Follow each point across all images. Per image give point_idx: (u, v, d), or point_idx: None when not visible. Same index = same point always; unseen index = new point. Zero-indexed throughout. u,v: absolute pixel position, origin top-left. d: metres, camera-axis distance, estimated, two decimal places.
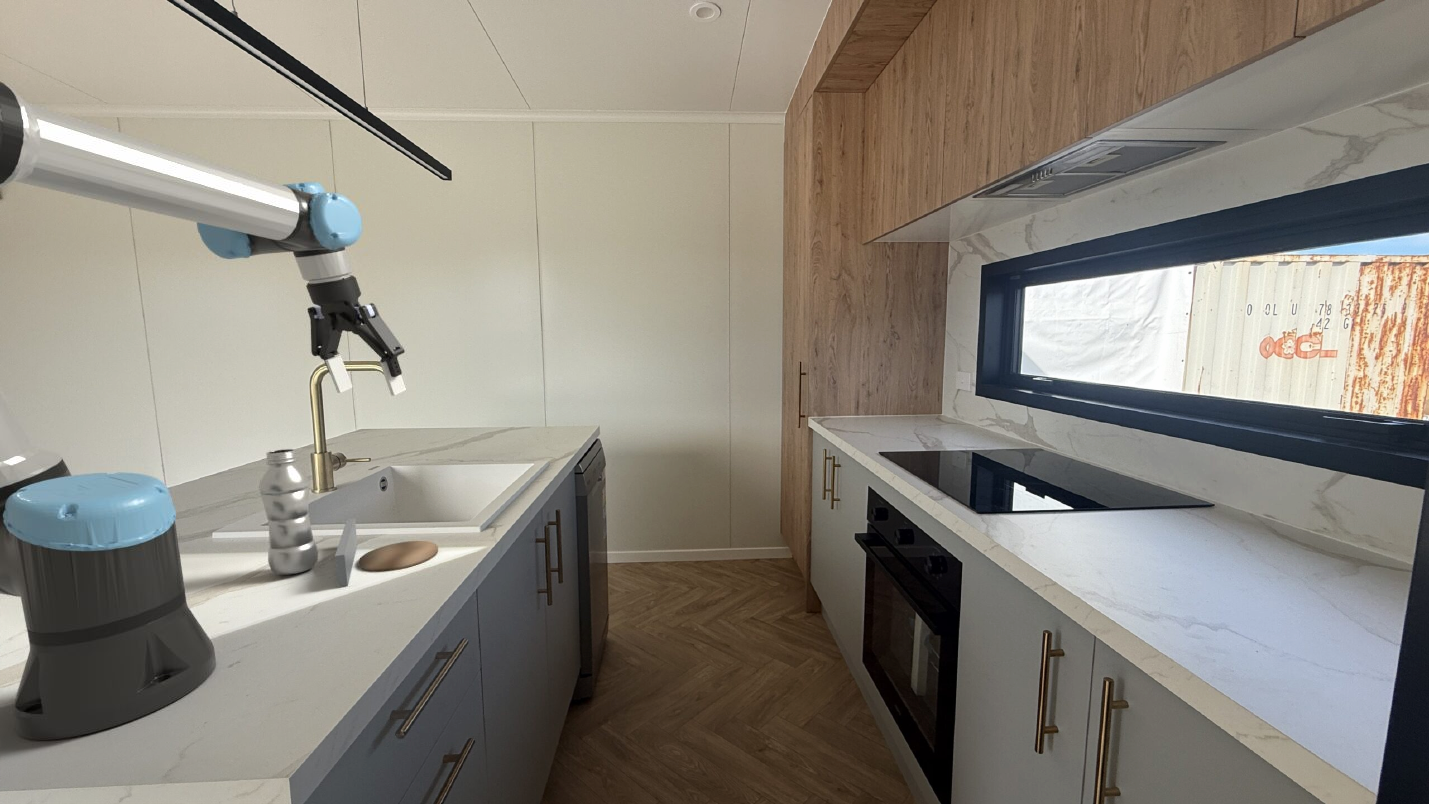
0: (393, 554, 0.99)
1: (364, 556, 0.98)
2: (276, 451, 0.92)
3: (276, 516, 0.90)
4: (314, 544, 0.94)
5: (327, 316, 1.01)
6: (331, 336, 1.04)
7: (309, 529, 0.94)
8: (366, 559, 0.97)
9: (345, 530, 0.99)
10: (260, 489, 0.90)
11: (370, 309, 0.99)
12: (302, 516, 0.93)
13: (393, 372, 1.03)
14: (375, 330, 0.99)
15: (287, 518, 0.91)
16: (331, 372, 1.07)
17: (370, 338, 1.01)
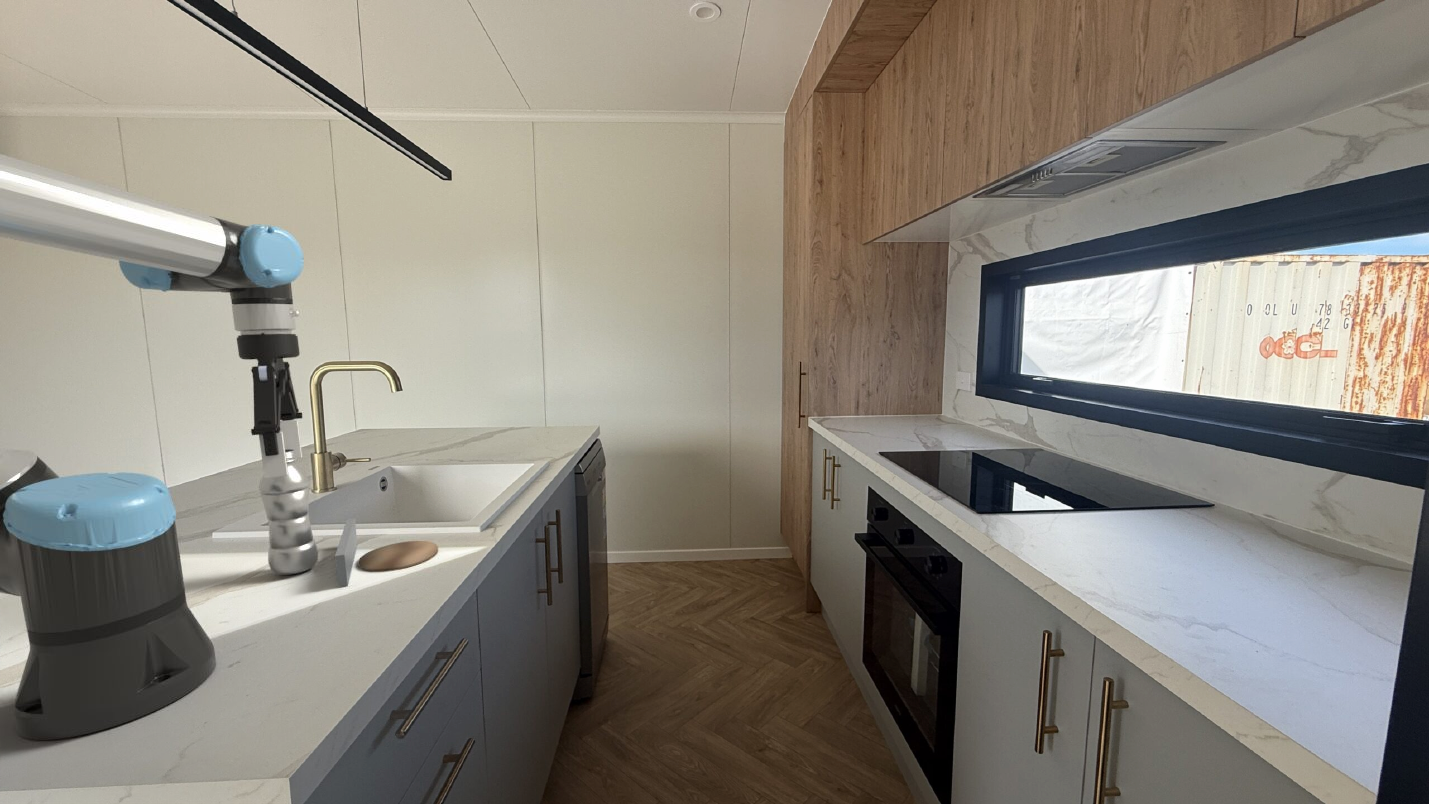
0: (393, 554, 0.99)
1: (364, 556, 0.98)
2: None
3: (276, 516, 0.90)
4: (314, 544, 0.94)
5: None
6: None
7: (309, 529, 0.94)
8: (366, 559, 0.97)
9: (345, 530, 0.99)
10: (260, 489, 0.90)
11: (262, 371, 0.84)
12: (302, 516, 0.93)
13: (265, 450, 0.84)
14: (254, 396, 0.83)
15: (287, 518, 0.91)
16: None
17: None
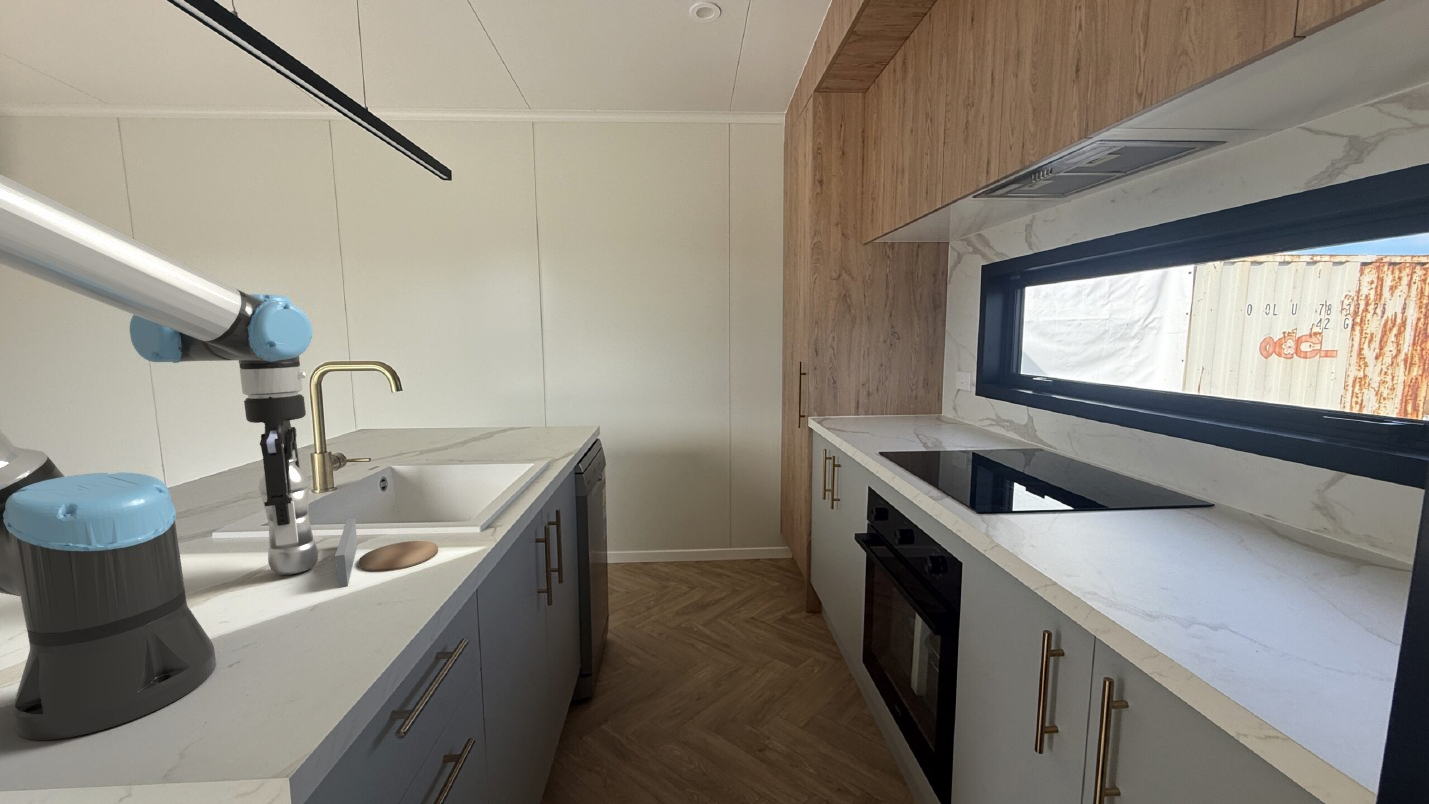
0: (393, 554, 0.99)
1: (364, 556, 0.98)
2: None
3: None
4: (314, 544, 0.94)
5: None
6: None
7: (309, 529, 0.94)
8: (366, 559, 0.97)
9: (345, 530, 0.99)
10: (260, 489, 0.90)
11: (270, 446, 0.85)
12: (302, 516, 0.93)
13: None
14: (264, 470, 0.86)
15: None
16: None
17: None
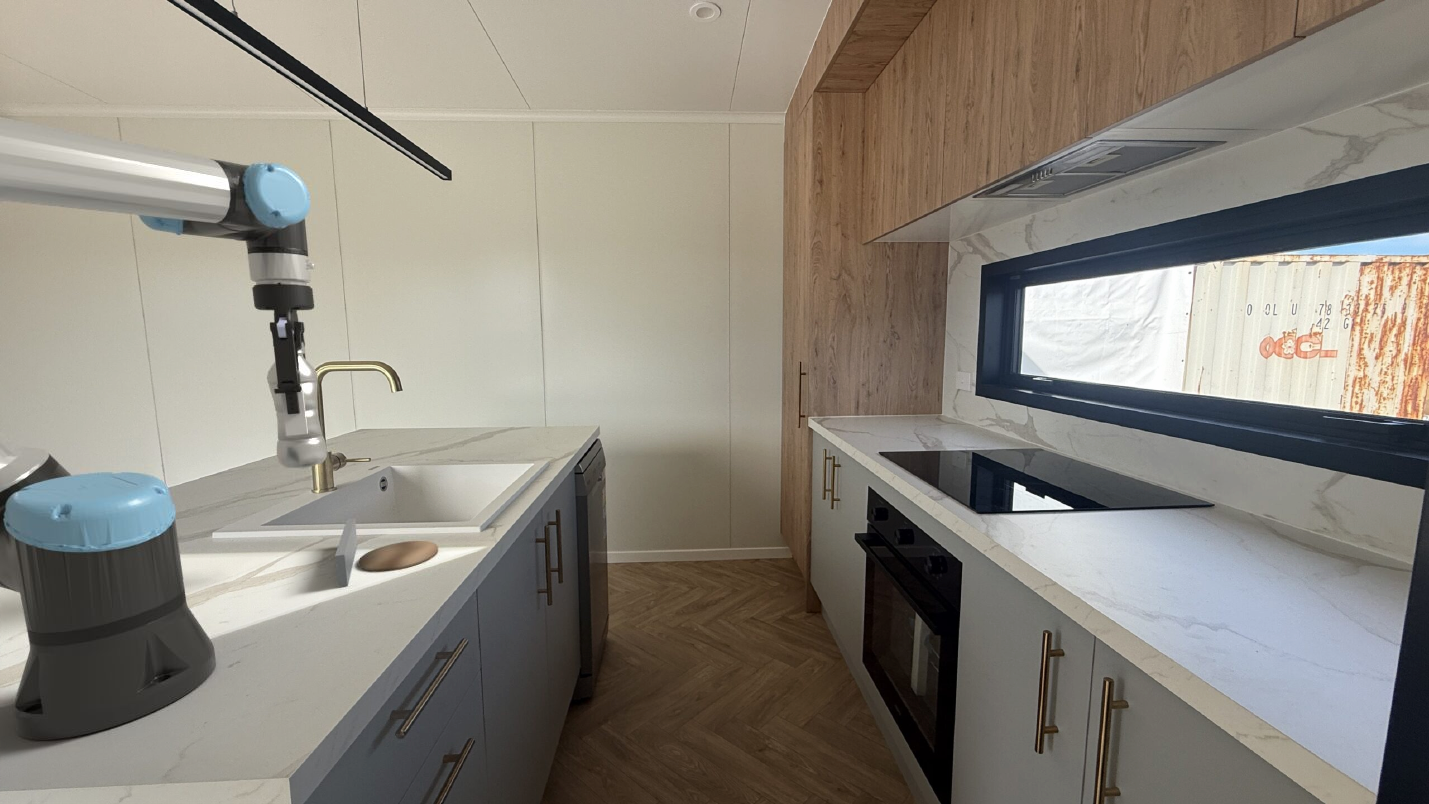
0: (393, 554, 0.99)
1: (364, 556, 0.98)
2: None
3: None
4: (323, 440, 0.93)
5: None
6: None
7: (318, 423, 0.93)
8: (366, 559, 0.97)
9: (345, 530, 0.99)
10: (269, 379, 0.88)
11: (281, 330, 0.84)
12: (311, 409, 0.92)
13: (287, 408, 0.87)
14: None
15: None
16: None
17: None
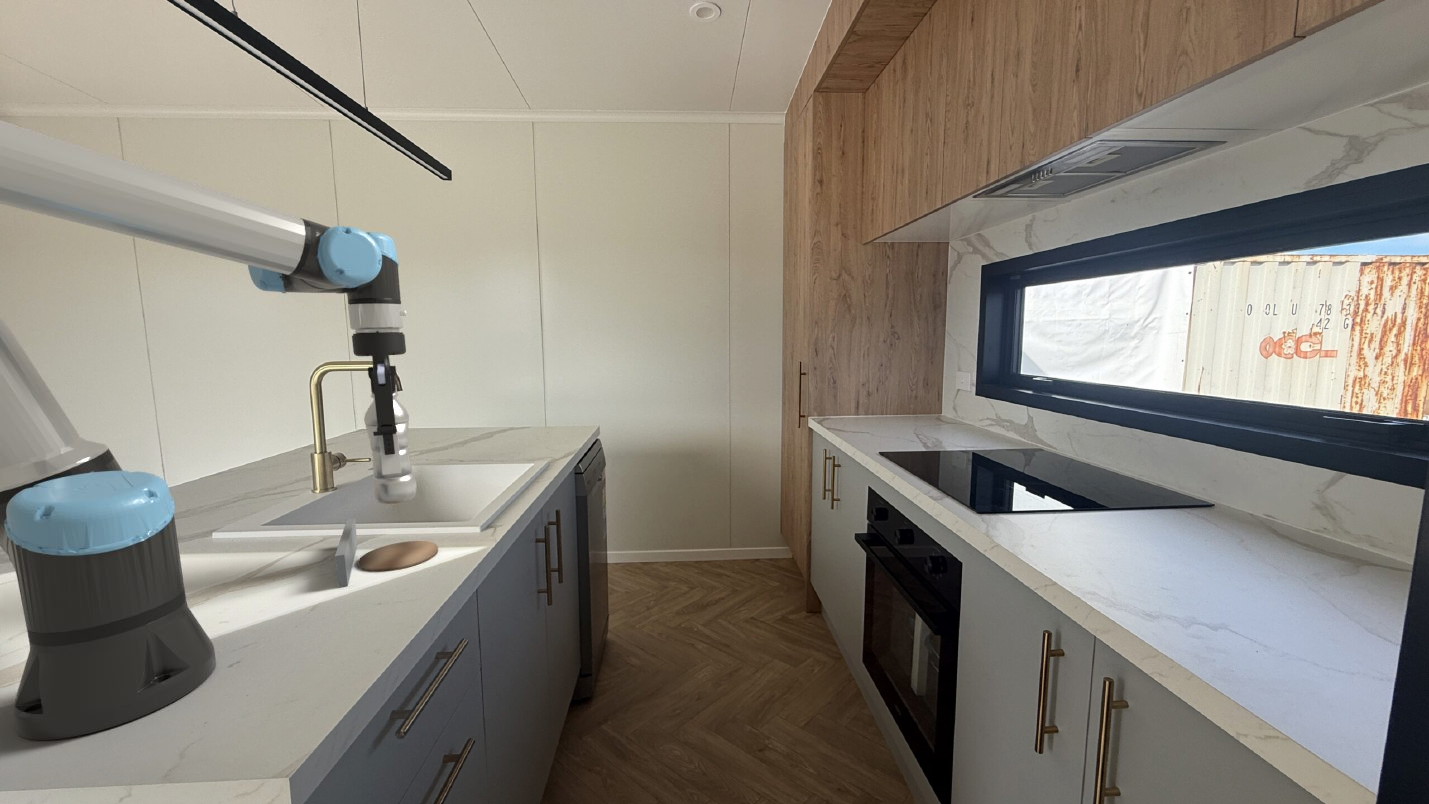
0: (393, 554, 0.99)
1: (364, 556, 0.98)
2: None
3: None
4: (413, 476, 0.99)
5: None
6: None
7: (409, 461, 0.98)
8: (366, 559, 0.97)
9: (345, 530, 0.99)
10: (366, 421, 0.94)
11: (381, 377, 0.90)
12: (404, 448, 0.97)
13: None
14: (375, 399, 0.90)
15: None
16: None
17: None
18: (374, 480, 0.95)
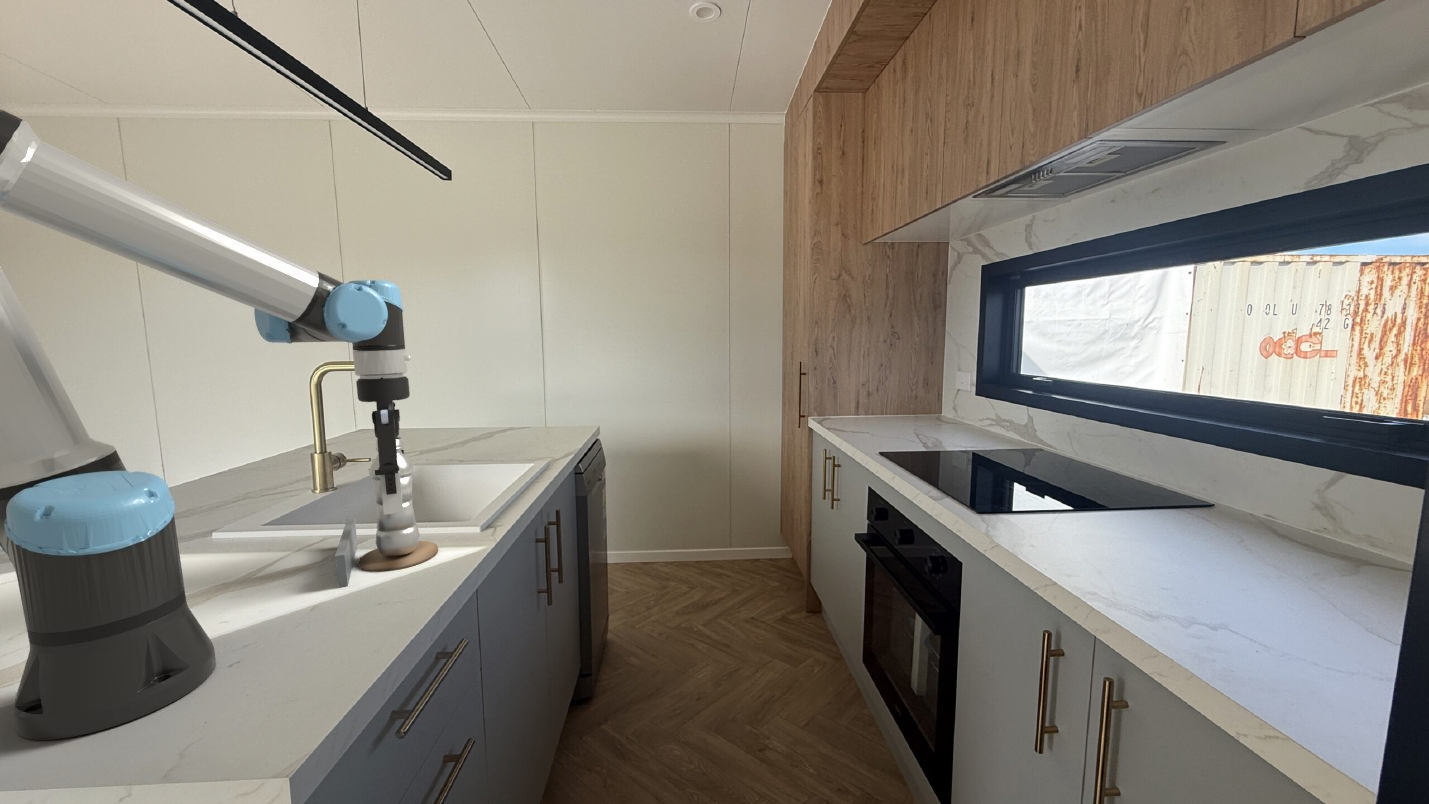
0: None
1: (364, 556, 0.98)
2: None
3: None
4: (417, 528, 0.99)
5: None
6: None
7: (413, 513, 0.99)
8: (366, 559, 0.97)
9: (345, 530, 0.99)
10: (371, 474, 0.95)
11: (384, 415, 0.90)
12: (408, 501, 0.98)
13: (386, 489, 0.90)
14: (377, 439, 0.89)
15: None
16: None
17: None
18: (378, 533, 0.96)
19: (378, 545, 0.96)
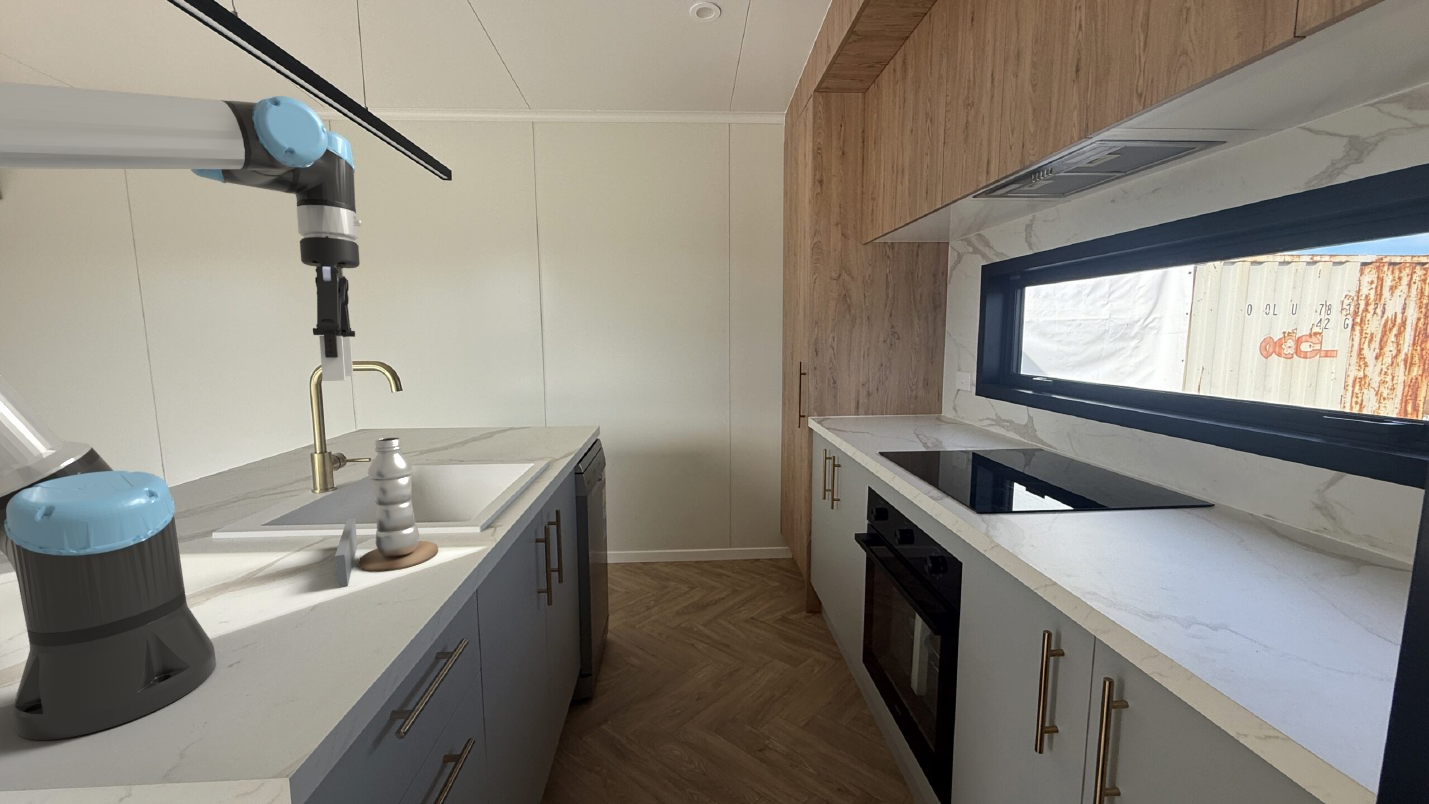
0: None
1: (364, 556, 0.98)
2: (382, 439, 0.97)
3: (385, 500, 0.95)
4: (417, 528, 0.99)
5: None
6: None
7: (413, 513, 0.99)
8: (366, 559, 0.97)
9: (345, 530, 0.99)
10: (370, 475, 0.95)
11: (326, 271, 0.83)
12: (407, 501, 0.98)
13: (325, 351, 0.83)
14: (317, 295, 0.82)
15: (395, 503, 0.96)
16: None
17: None
18: (378, 533, 0.96)
19: (378, 545, 0.96)
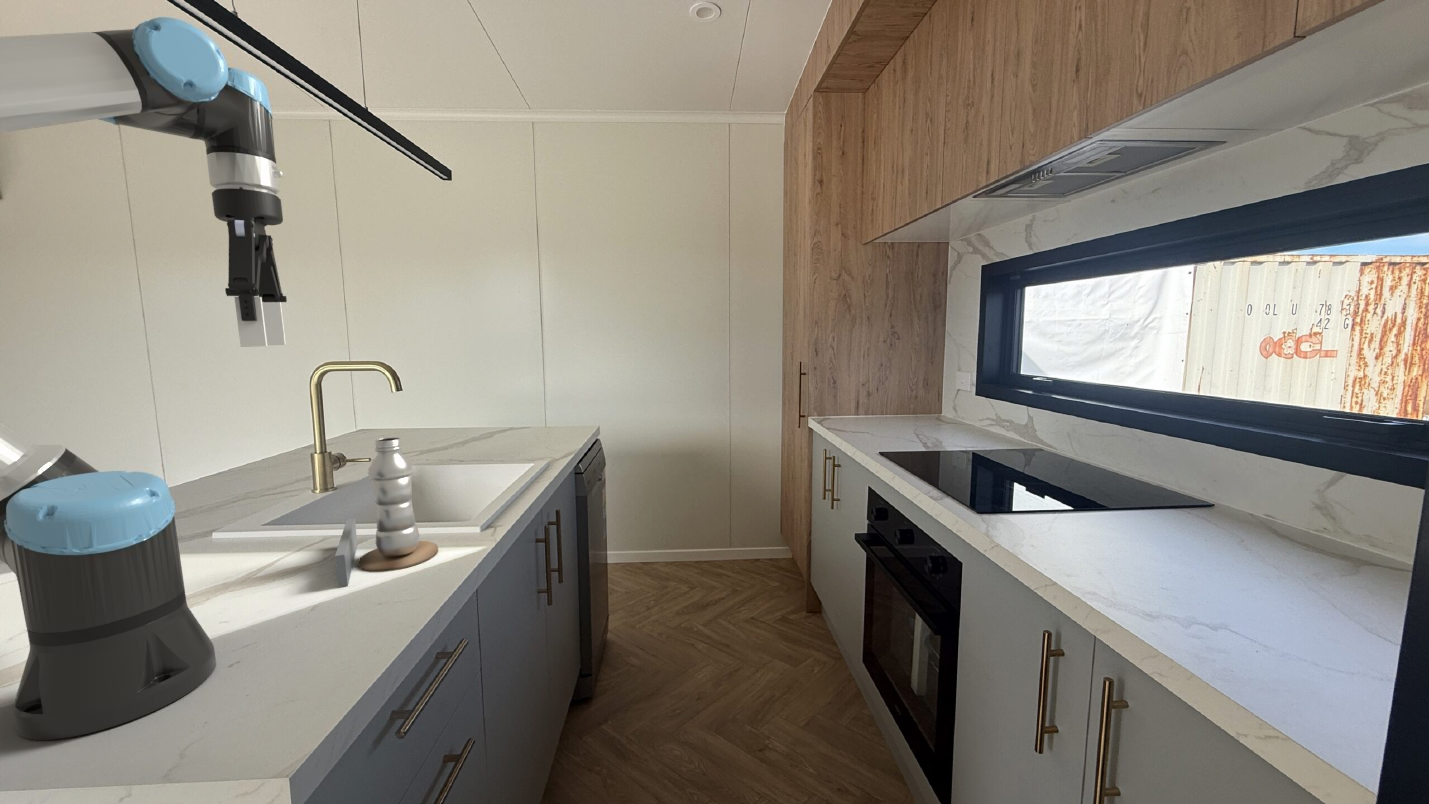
0: None
1: (364, 556, 0.98)
2: (382, 439, 0.97)
3: (385, 500, 0.95)
4: (417, 528, 0.99)
5: None
6: None
7: (413, 513, 0.99)
8: (366, 559, 0.97)
9: (345, 530, 0.99)
10: (370, 475, 0.95)
11: (239, 225, 0.75)
12: (407, 501, 0.98)
13: None
14: (229, 251, 0.74)
15: (395, 503, 0.96)
16: None
17: None
18: (378, 533, 0.96)
19: (378, 545, 0.96)
